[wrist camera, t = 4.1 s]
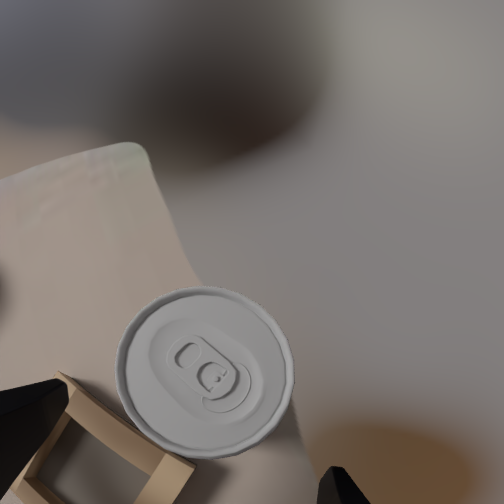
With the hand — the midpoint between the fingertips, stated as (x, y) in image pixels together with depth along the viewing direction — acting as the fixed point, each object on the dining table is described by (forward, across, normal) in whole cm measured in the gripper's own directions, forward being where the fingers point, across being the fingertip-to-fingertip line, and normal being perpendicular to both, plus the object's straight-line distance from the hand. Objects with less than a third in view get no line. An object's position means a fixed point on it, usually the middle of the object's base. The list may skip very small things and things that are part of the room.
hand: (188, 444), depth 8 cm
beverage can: (+8, 0, +5) cm, 10 cm away
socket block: (+3, +6, +11) cm, 13 cm away
